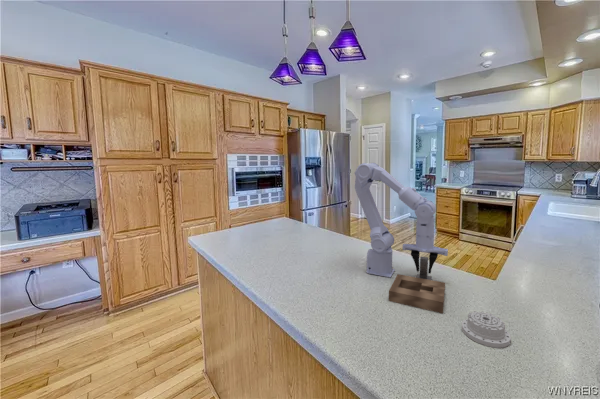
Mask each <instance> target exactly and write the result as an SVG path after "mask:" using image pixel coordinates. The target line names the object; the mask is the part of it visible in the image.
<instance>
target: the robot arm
mask: <svg viewBox="0 0 600 399" xmlns="http://www.w3.org/2000/svg"><path fill="white" fill-rule="evenodd" d="M354 175H355V181H354V190H355V192H356V195H357V197H358V201H359V203H360V206H361V208H362V210H363V213H364V215H365V218H366V221H367V223H368V227H369V229H370V232H369V237H370V246H371V248H368V250H367V253H366V272H365V273H366V274H370V275H375V276H381V277H385V278H392V276H393V274H394V272H395V268H393V248H392V246H393V245H394V243H395V237H394V235H393V234H392V233H391V232H390V231H389V228H388V227H387V226H386V225H385V224H384V222H383V220H382V217H381V215H380V211H379V209H378V207H377V204H376V203H375V202H376V201H375V200H374V197H373V194H372V191H371V186H372V184H373V182H374V181H380V182H382V183H384V184H385V185H386V186H388V188H390V189H392V191H394V192H396V193H397V194H398V199H399V200H400V201H401V202H402V203H403V204H405V205H406V206H407V207H408V208H410V209H411V210H413V211H414V214H415V216H416V224H415V225H416V228H415V229H416V230H415V231H416V232H415V244H413V243H412V244H411V243H403V244H402V251H410V256H411V258H412V260H413V262H414V265H415V270H416V272H417V273H420V253H427V254H429V255H428V274H429V275H430V274H432V268H433V266H434V263H435V262H436V260H437V259H438V255H441V256H445V257H448V255H449V249H448V248H443V247H439V246H434V244H435V243H434V241H435V216H434V215H435V213H436V212H437V211H436V210H437V206H436V204H434V202H433V201H431V200H429V199H428V198H427V197H423V196H422V195H421V194H420V193H418V192H417V189H416V187H411V186H404V185H403V184H402V183H401V182H400V181H399V180H397V179H396V178H395V177H394V176H393V175H392V174H390V173H389V172H388V171H387V170H386V169H385V168H383V167H382V166H379V164H377V163H376V162H369V163H367V162H363V163H360V164H359V165H358V166H357V168H356V170H355V171H354Z"/></svg>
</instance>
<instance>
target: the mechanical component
mask: <svg viewBox="0 0 600 399" xmlns="http://www.w3.org/2000/svg"><path fill="white" fill-rule="evenodd" d="M505 323H506V322H505V321H503V320H502V319H501V317H497V316H495V315H493V313H489V312H485V311H483V310H482V311H476V310H473V312H469V313H468V314H467V318H466V319H464V320H463V321H462V322H461V331H462V332H463V334H464V335H465V336H466V337H467V338H468V339H470V340H472V341H474V342H476V343H478V344H479V345H482V346H485V347H491V348H498V349H500V348H506V347H509V346H510V344H511V341H512V340H511V339H512V337H511V334H510V332H508V330H507V329H506V324H505Z"/></svg>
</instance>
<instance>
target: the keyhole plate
mask: <svg viewBox="0 0 600 399" xmlns="http://www.w3.org/2000/svg"><path fill="white" fill-rule="evenodd" d="M445 292H446V282H443V281H438V280H433V279H432V280H428V279H422V278H416V276H410V275H404V274H399V273H398V274H397V275H396V277H395V278H394V280H393V282H392V284H391V286H390V288H389V289H388V302H393V303H395V304H396V303H397V304H401V305H405V306H408V307H410V306H411V307H413V308H419V309H423V310H427V311H431V312H434V313H438V312H439V313H440V314H443V313H444V304H445V296H444V295H446V294H445Z"/></svg>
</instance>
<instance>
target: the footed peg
mask: <svg viewBox="0 0 600 399" xmlns="http://www.w3.org/2000/svg"><path fill="white" fill-rule="evenodd" d="M428 270H429V256H428V257H427V256H420V257H419V273H416V276H415V277H416V278H422V279H428V280H433V276H431V275H428V274H429V273H428Z"/></svg>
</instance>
